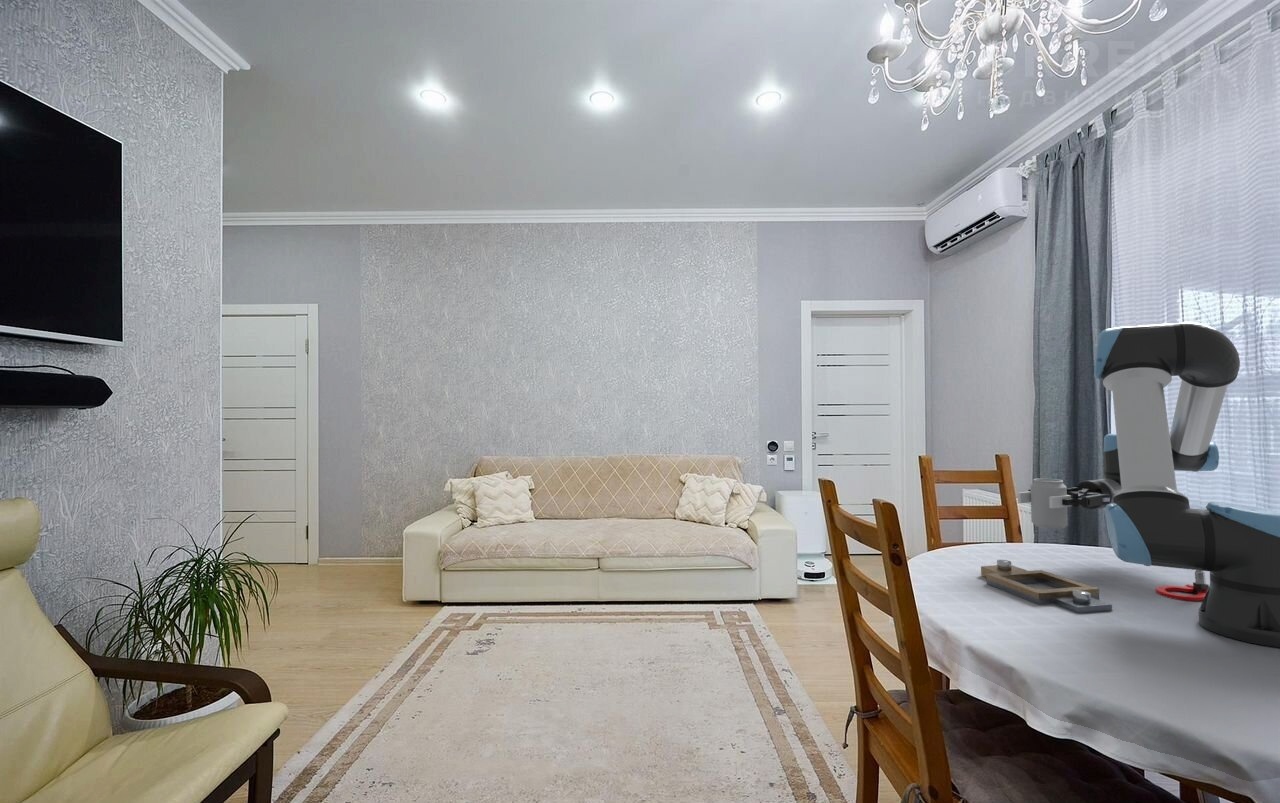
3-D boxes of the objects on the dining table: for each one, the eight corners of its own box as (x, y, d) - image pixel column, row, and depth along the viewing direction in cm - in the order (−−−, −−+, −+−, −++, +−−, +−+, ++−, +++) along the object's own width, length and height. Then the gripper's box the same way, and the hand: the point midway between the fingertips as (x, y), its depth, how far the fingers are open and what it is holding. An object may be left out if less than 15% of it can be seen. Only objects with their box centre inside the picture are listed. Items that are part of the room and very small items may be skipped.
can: (1066, 525, 146) (1064, 478, 147) (1069, 530, 140) (1067, 481, 140) (1030, 522, 150) (1029, 476, 151) (1032, 528, 144) (1030, 480, 144)
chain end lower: (1126, 609, 119) (1126, 594, 119) (1063, 614, 117) (1063, 599, 117) (1041, 579, 140) (1041, 567, 140) (986, 583, 138) (986, 571, 138)
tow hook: (1178, 603, 123) (1223, 601, 123) (1173, 543, 124) (1218, 541, 123) (1146, 591, 132) (1188, 589, 131) (1141, 535, 132) (1183, 532, 132)
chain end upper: (1099, 599, 125) (1098, 580, 125) (1038, 604, 123) (1038, 585, 123) (1021, 572, 146) (1021, 556, 146) (968, 576, 144) (968, 559, 144)
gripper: (1142, 514, 141) (1077, 522, 134) (1059, 502, 161) (998, 508, 153) (1141, 484, 141) (1076, 490, 134) (1058, 475, 161) (997, 480, 153)
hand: (1034, 500), depth 144 cm, fingers closed on can, 7 cm apart
